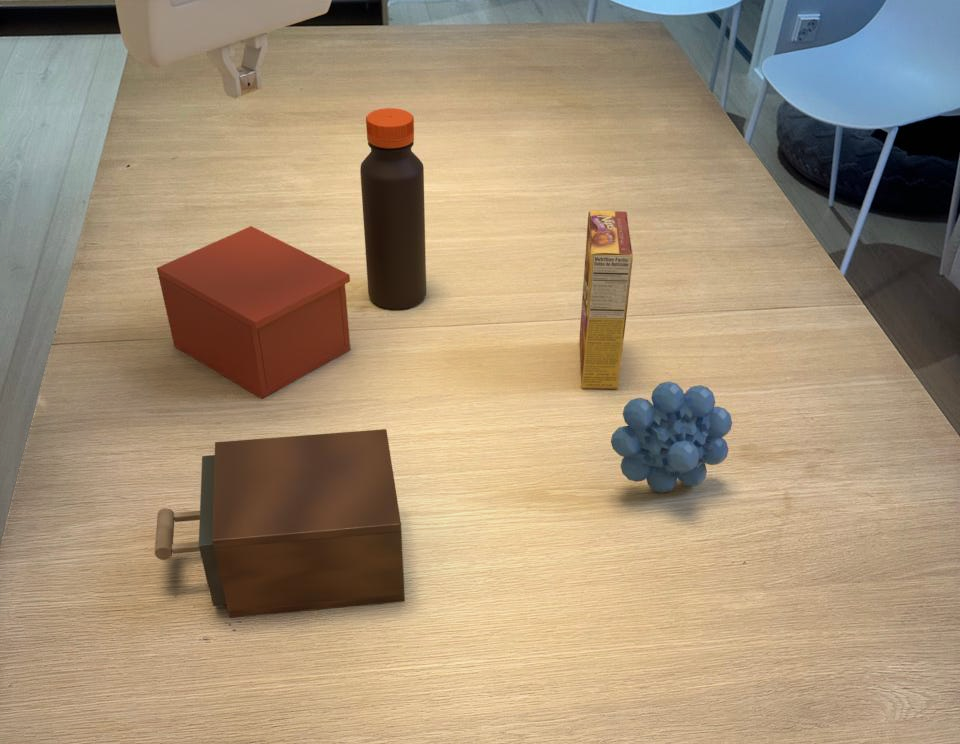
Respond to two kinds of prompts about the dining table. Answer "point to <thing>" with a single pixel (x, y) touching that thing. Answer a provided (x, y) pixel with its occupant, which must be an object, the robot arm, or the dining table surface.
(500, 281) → the dining table surface
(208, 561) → the pulled out drawer
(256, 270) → the lid
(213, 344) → the chest
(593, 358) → the candy box
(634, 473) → the blue knobbed flower
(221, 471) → the cabinet
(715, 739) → the dining table surface
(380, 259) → the bottle
